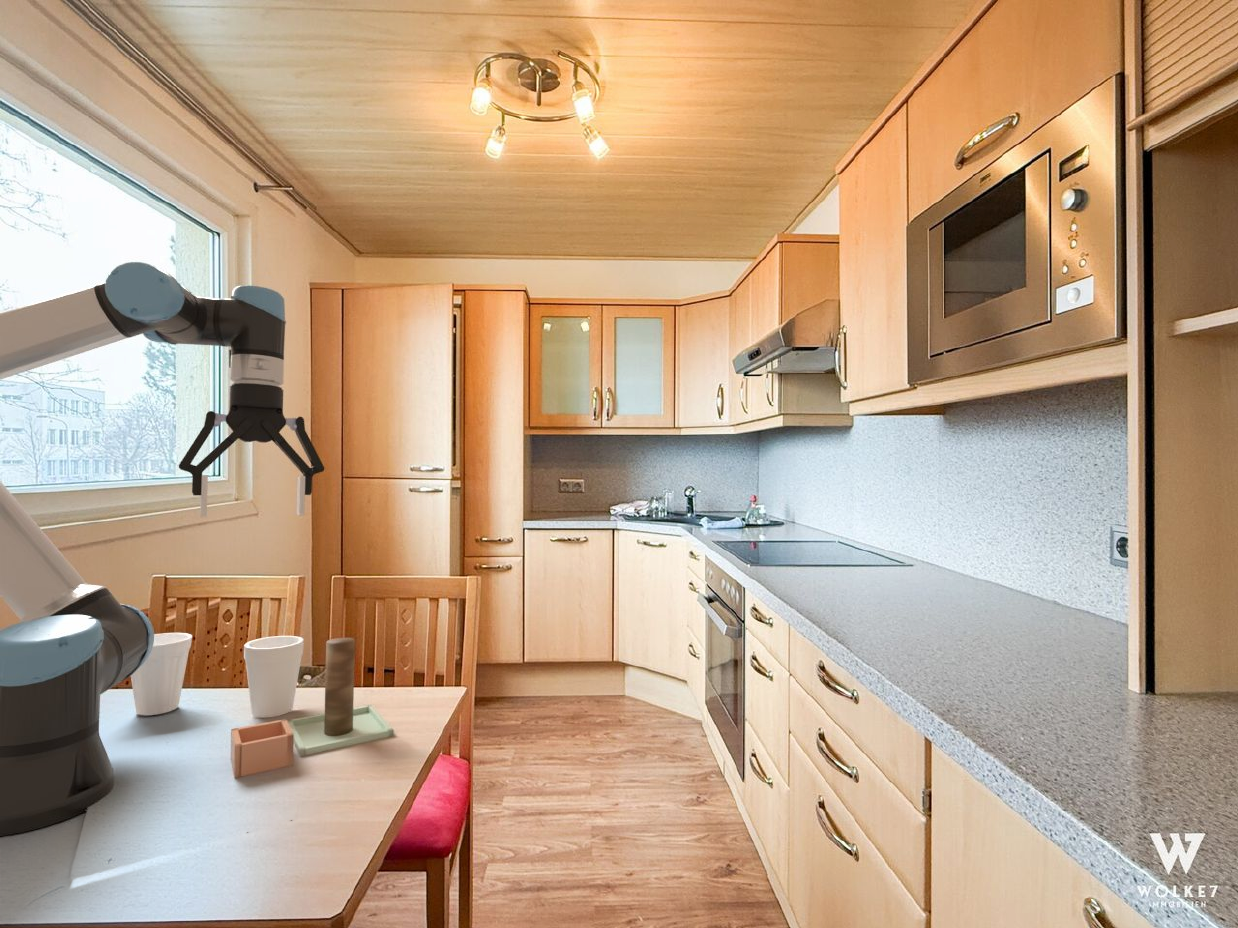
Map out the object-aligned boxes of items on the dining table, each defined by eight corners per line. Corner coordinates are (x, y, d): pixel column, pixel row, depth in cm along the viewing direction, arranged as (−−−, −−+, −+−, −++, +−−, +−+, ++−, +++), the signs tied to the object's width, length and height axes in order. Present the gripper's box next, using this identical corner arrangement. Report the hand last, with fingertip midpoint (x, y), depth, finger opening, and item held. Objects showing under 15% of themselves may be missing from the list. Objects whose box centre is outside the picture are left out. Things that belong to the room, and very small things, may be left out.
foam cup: (275, 726, 109) (277, 650, 109) (229, 721, 111) (231, 647, 111) (312, 707, 118) (314, 637, 119) (269, 703, 120) (271, 634, 120)
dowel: (327, 738, 103) (329, 645, 103) (321, 729, 106) (323, 639, 107) (355, 732, 105) (357, 641, 106) (349, 723, 109) (351, 636, 109)
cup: (164, 722, 110) (167, 646, 110) (108, 721, 110) (110, 645, 111) (203, 701, 120) (205, 632, 120) (151, 700, 120) (153, 631, 121)
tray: (299, 759, 96) (299, 749, 96) (286, 729, 108) (286, 720, 108) (393, 738, 104) (393, 729, 104) (371, 712, 116) (371, 704, 116)
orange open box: (234, 782, 89) (235, 746, 89) (230, 762, 95) (231, 729, 95) (292, 768, 93) (293, 734, 93) (285, 750, 99) (286, 718, 99)
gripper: (162, 373, 92) (157, 519, 92) (344, 389, 106) (341, 515, 106) (162, 379, 98) (158, 516, 98) (335, 394, 113) (332, 513, 112)
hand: (253, 516), depth 102 cm, fingers open, 13 cm apart
